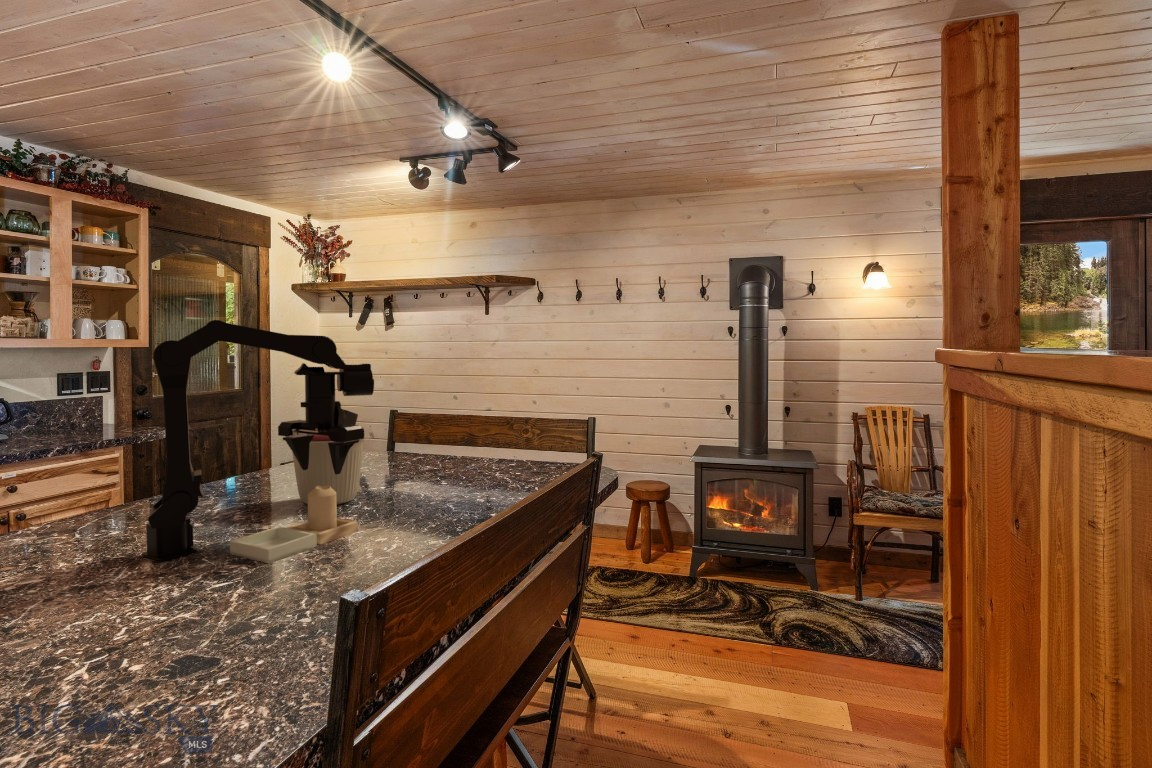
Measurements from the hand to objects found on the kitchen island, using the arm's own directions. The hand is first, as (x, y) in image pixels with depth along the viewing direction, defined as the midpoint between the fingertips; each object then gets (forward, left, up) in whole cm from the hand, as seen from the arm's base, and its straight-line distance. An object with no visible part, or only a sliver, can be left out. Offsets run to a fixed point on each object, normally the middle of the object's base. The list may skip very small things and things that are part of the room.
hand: (321, 471), depth 128 cm
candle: (0, 0, -13) cm, 13 cm away
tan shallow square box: (0, 0, -13) cm, 13 cm away
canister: (+20, +20, -13) cm, 31 cm away
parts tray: (-12, 0, -13) cm, 17 cm away
